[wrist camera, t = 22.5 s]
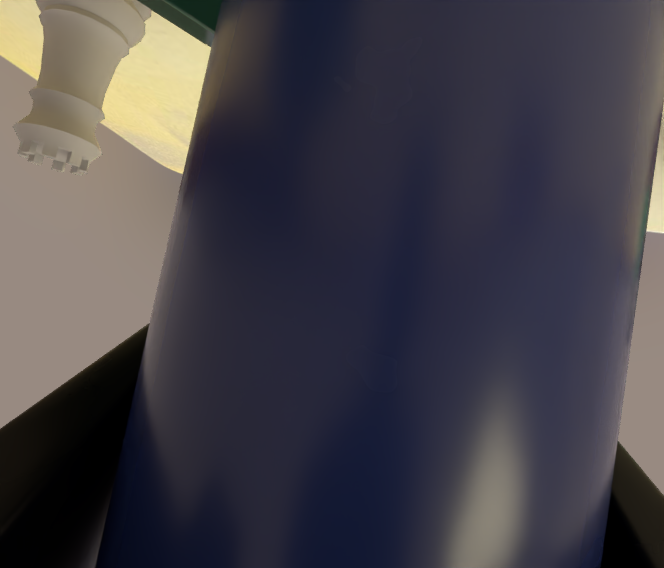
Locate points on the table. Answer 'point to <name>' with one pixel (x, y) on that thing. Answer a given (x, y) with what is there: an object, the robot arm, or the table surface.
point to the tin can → (397, 289)
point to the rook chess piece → (76, 77)
